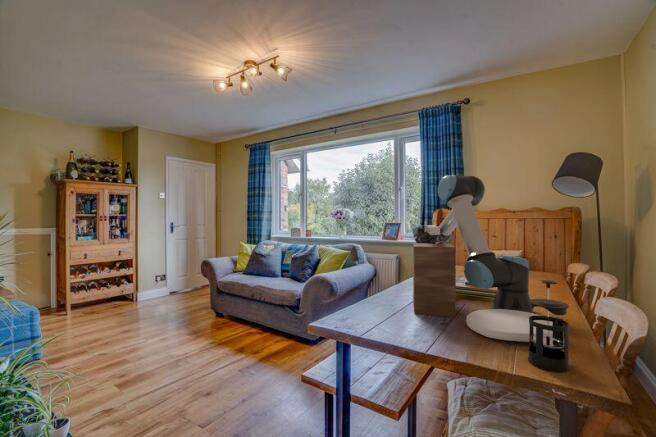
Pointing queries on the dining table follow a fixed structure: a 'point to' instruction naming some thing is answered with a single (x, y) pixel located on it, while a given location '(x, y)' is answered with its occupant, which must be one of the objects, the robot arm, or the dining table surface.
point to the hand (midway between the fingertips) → (430, 223)
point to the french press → (548, 347)
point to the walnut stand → (434, 279)
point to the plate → (504, 324)
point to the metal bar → (433, 230)
